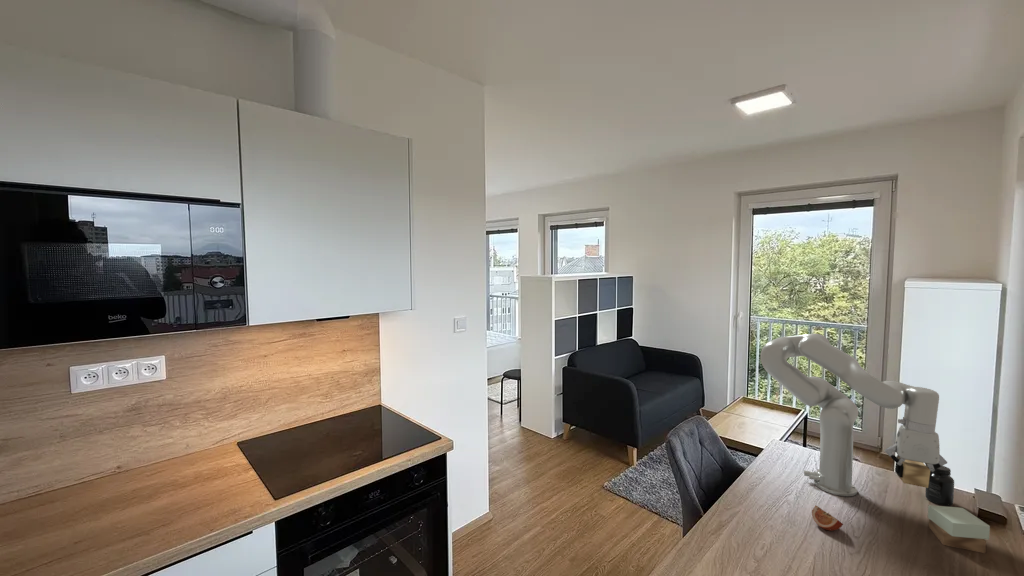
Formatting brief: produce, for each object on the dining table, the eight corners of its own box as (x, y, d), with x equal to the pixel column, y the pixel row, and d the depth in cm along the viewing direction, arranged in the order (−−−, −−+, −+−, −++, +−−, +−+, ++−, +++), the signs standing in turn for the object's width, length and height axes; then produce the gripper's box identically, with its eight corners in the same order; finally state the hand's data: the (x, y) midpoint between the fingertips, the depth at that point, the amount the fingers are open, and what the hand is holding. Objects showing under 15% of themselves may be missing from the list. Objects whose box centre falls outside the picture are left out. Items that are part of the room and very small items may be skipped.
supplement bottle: (959, 507, 142) (960, 473, 141) (935, 505, 143) (936, 471, 142) (942, 496, 148) (944, 463, 147) (919, 494, 150) (921, 461, 149)
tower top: (952, 536, 122) (952, 522, 122) (927, 517, 131) (928, 505, 130) (989, 539, 120) (989, 526, 120) (961, 520, 129) (962, 507, 129)
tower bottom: (943, 545, 124) (943, 532, 123) (928, 528, 132) (929, 515, 132) (985, 554, 120) (986, 541, 120) (967, 535, 128) (968, 523, 128)
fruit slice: (806, 520, 136) (807, 505, 136) (825, 518, 137) (826, 503, 137) (828, 536, 128) (829, 521, 128) (848, 535, 129) (849, 519, 128)
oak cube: (903, 483, 138) (905, 465, 137) (896, 474, 143) (898, 457, 143) (928, 488, 135) (930, 470, 135) (919, 478, 141) (922, 461, 140)
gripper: (889, 424, 138) (883, 476, 140) (960, 436, 130) (953, 490, 132) (881, 416, 144) (875, 466, 146) (948, 426, 137) (941, 479, 139)
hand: (912, 477), depth 139 cm, fingers closed on oak cube, 6 cm apart
